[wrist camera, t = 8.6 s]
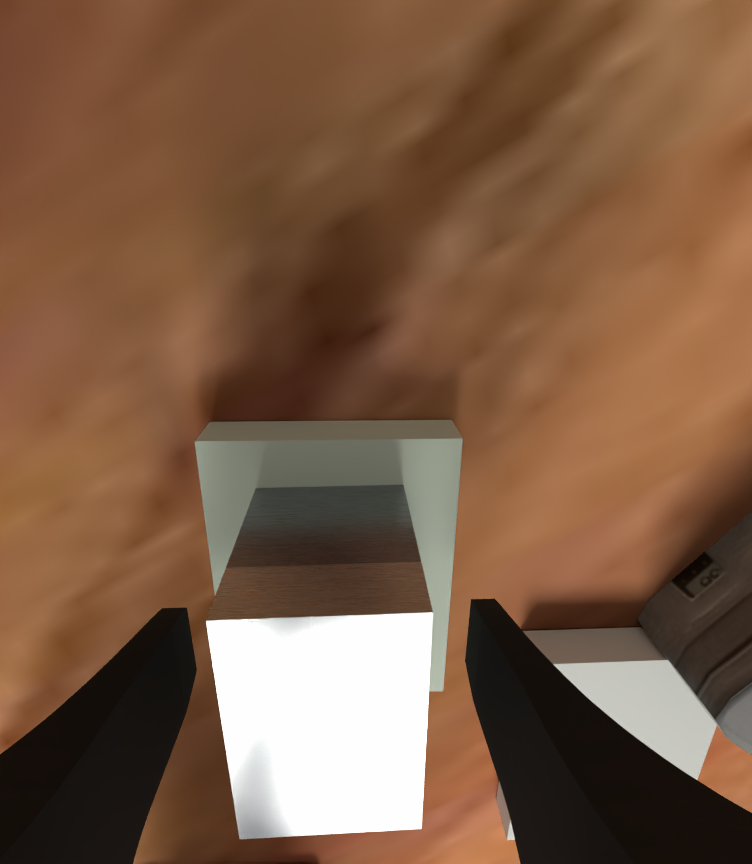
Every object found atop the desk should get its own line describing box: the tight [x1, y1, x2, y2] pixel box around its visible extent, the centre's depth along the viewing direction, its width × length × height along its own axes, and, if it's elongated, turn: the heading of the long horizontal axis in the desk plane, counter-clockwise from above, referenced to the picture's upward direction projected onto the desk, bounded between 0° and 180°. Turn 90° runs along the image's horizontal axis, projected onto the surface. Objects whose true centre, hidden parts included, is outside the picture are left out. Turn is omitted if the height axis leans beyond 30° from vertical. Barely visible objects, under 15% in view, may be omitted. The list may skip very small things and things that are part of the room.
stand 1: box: [195, 420, 463, 692], centre depth 15 cm, size 9×7×2 cm
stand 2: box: [496, 627, 717, 840], centre depth 19 cm, size 9×7×2 cm
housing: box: [206, 485, 433, 839], centre depth 12 cm, size 6×4×5 cm, turn 0°
